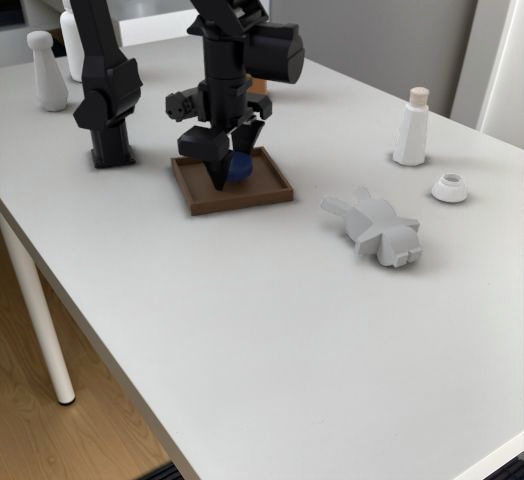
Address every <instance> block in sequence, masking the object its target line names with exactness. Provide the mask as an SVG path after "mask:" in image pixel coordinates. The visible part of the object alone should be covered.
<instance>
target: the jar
mask: <svg viewBox="0 0 524 480" xmlns="http://www.w3.org/2000/svg"><path fill="white" fill-rule="evenodd" d="M247 77H251V75H250V74H247ZM251 78H253V77H251ZM247 92H252V93H257V94H263V95H267V96H268V80H262V79H256V78H253V85H252V86H251V87H250V88H248V89H247Z"/></svg>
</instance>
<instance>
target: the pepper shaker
mask: <svg viewBox="0 0 524 480" xmlns="http://www.w3.org/2000/svg"><path fill="white" fill-rule="evenodd" d="M409 93H410V95H409V103H406V104H405V107H404V110H403V113H402V118H401V122H400V126H399V130H398V132H397V133H398V134H397V138H396V141H395V145H394V149H393V153H392V161H394V162H396V163H397V164H399V165H401V166H407V167H408V166H410V167H416V166H418V165H422V164H424V163H425V156H426V148H427V147H426V146H427V133H428V124H429V123H428V121H429V108H430V107H429V105H427V104H428V103H427V102H428V99H429V95H430V89H428V88H425V87H423V86H422V87H421V86H416V87H413V88H411V89H410V92H409Z"/></svg>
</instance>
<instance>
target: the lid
mask: <svg viewBox="0 0 524 480" xmlns="http://www.w3.org/2000/svg"><path fill="white" fill-rule="evenodd" d="M252 171H253V164H252V158H251V157H250V156H249V155H247V154H245V153H242V152H238V151H234V153H233V157H232V161H231V164H230V167H229V171H228V175H227V178H226V181H238V180H242V179H245V178H247V177H248V176H250V175H251V174H252ZM207 173H208V171H207ZM208 175H209V173H208Z"/></svg>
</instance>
